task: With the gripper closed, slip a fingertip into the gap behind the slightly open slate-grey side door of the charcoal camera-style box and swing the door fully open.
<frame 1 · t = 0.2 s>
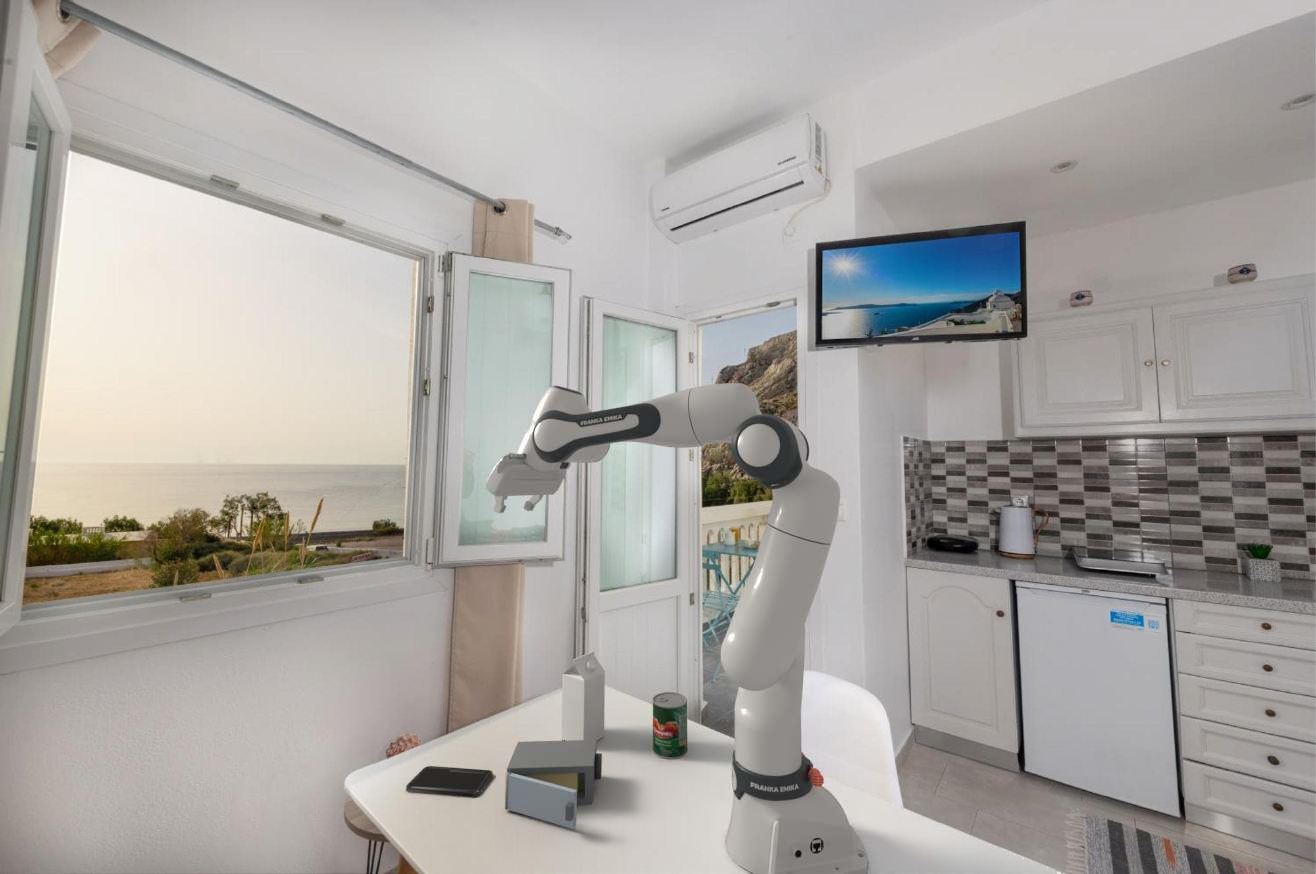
hand: (513, 510, 112), 54 cm above the table, tool tilted 30°, fingers open, 8 cm apart
milk carton: (583, 739, 120), on the table
side door: (538, 801, 91), point 4 cm above the table, hinge at 25.0°
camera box: (553, 790, 100), on the table
phone: (450, 785, 102), on the table
canned tomato: (670, 750, 115), on the table
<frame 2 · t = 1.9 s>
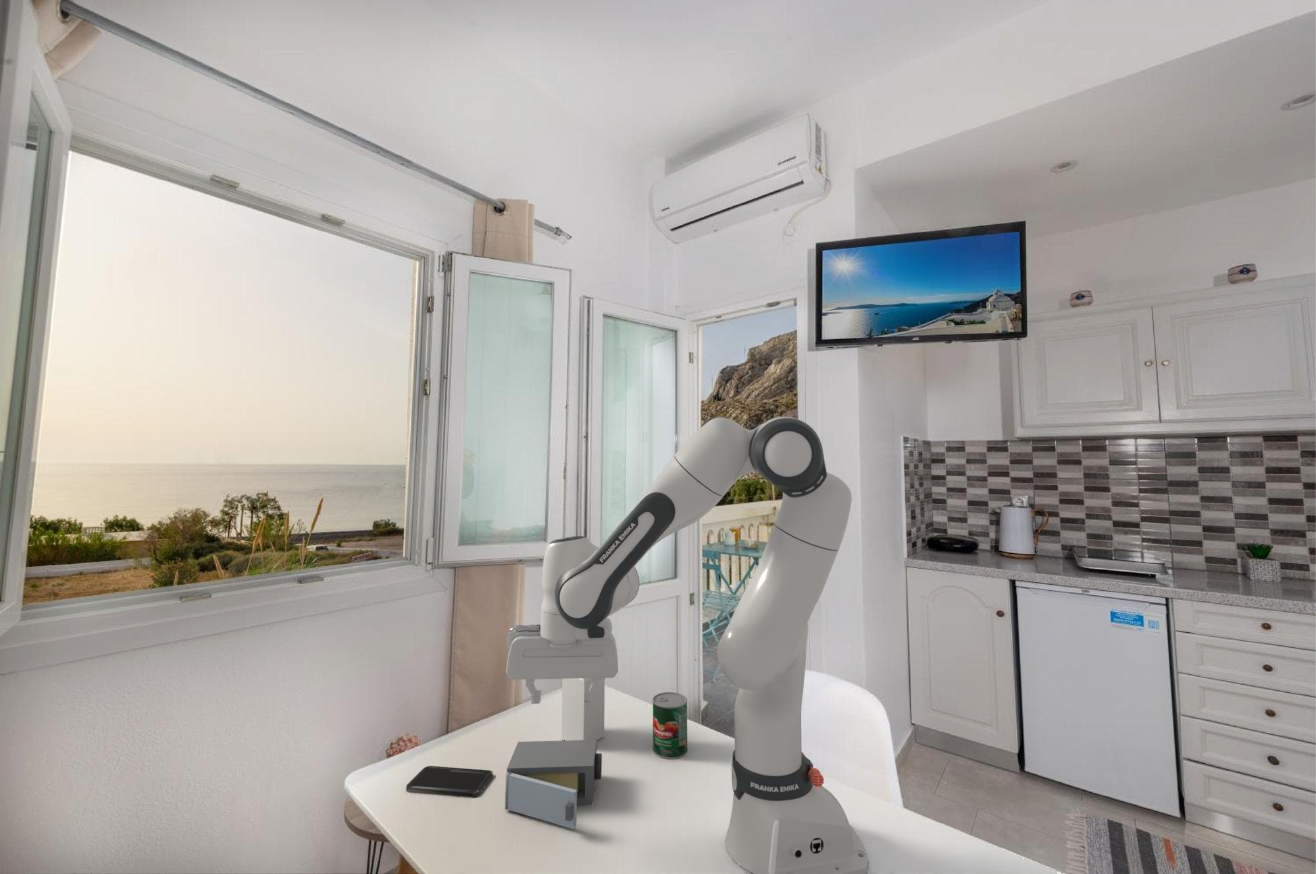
hand: (562, 701, 93), 20 cm above the table, tool pointing down, fingers open, 8 cm apart
nothing on the table moved.
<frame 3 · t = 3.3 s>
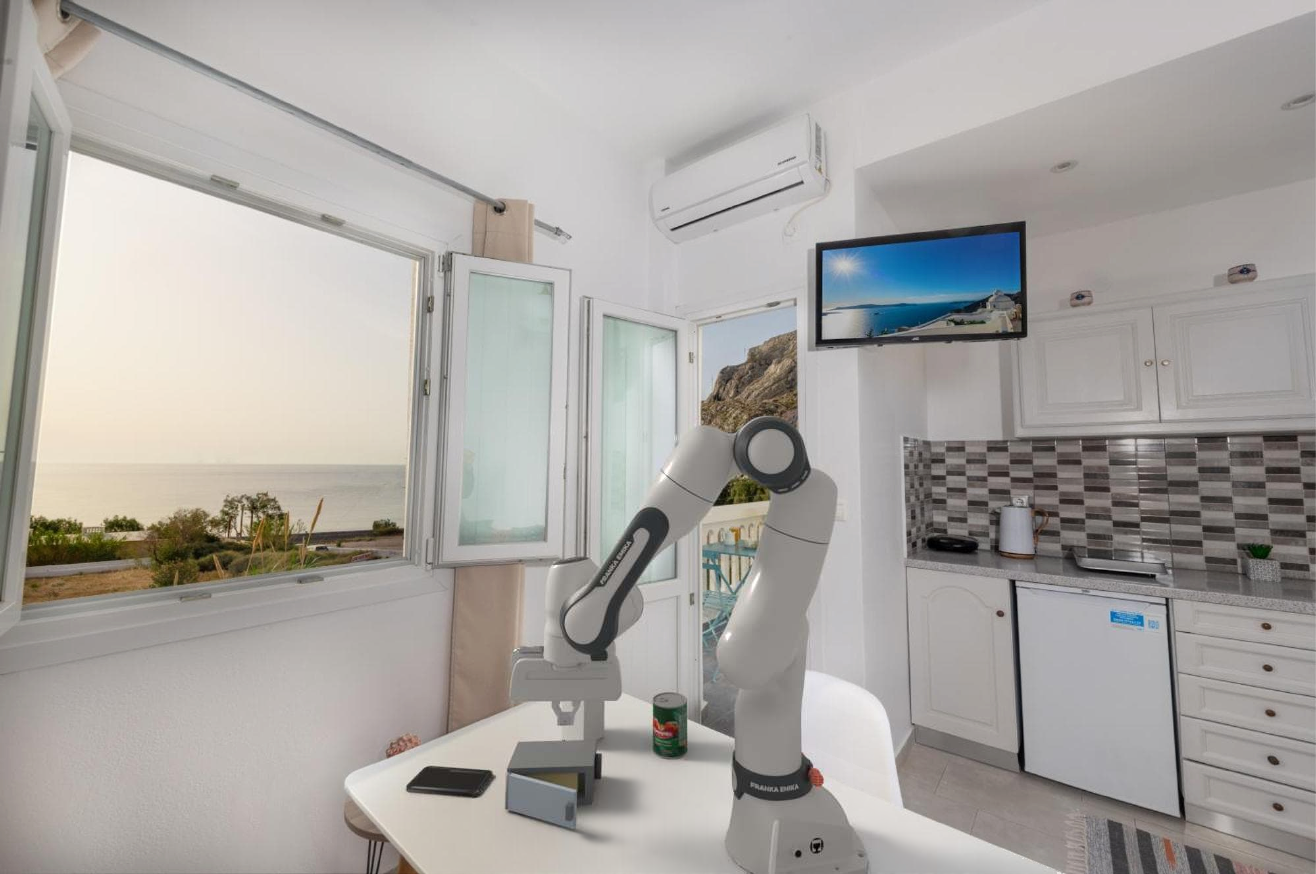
hand: (565, 724, 93), 16 cm above the table, tool pointing down, fingers closed
nothing on the table moved.
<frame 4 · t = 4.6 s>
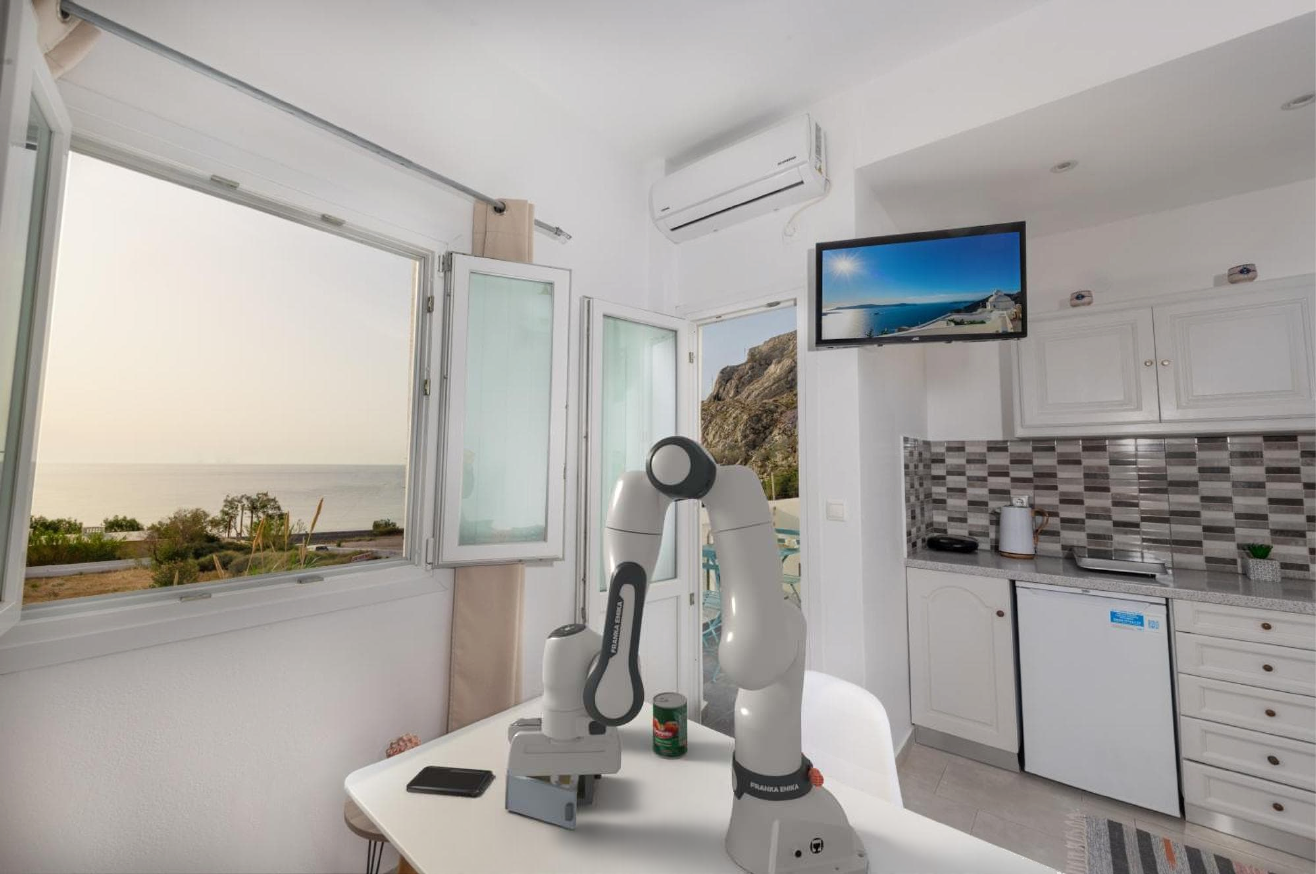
hand: (564, 797, 92), 4 cm above the table, tool pointing down, fingers closed
side door: (538, 801, 91), point 4 cm above the table, hinge at 25.3°, touching gripper
everything else where it was.
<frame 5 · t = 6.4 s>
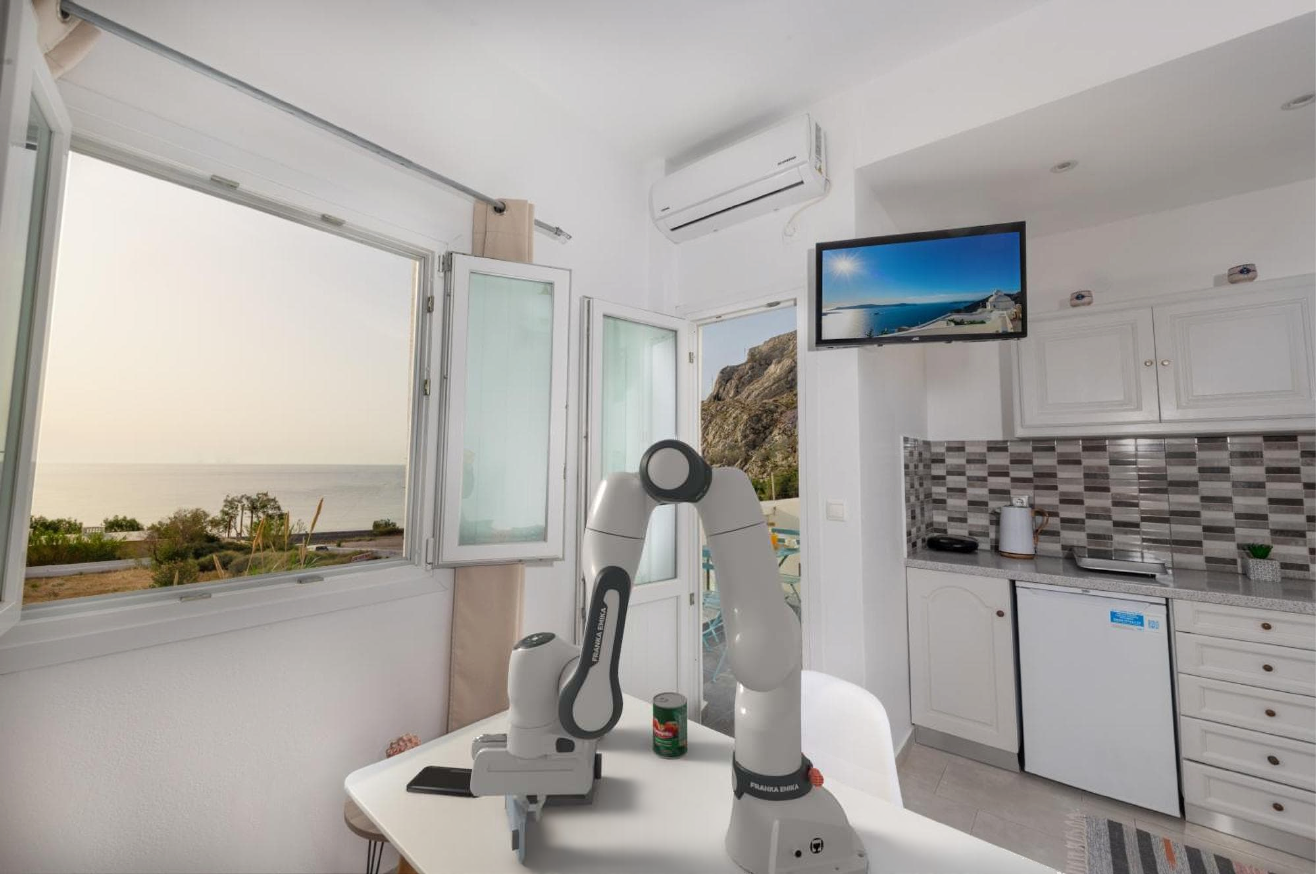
hand: (532, 818, 86), 4 cm above the table, tool pointing down, fingers closed
side door: (511, 813, 88), point 3 cm above the table, hinge at 68.7°, touching gripper
everything else where it was.
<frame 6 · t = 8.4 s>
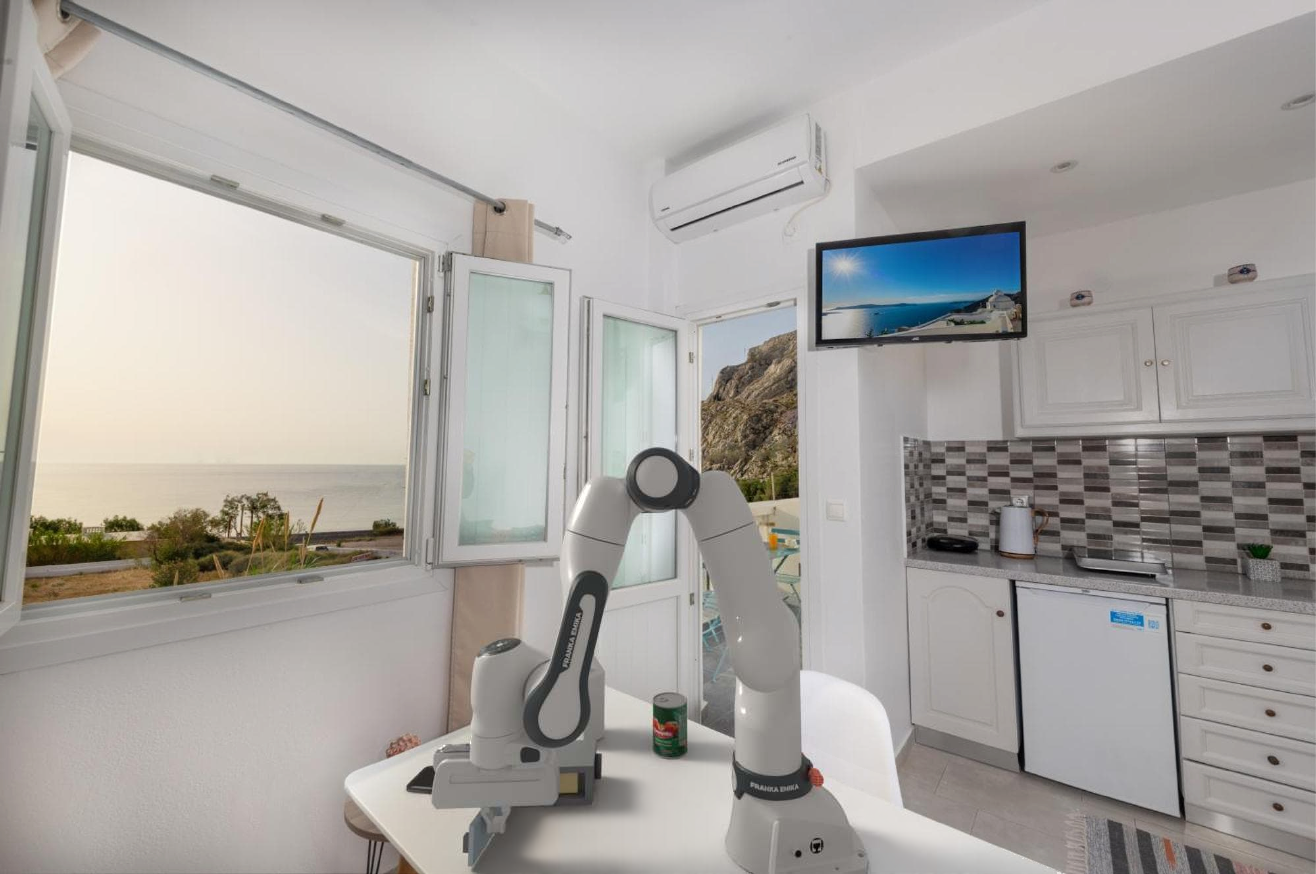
hand: (496, 831, 83), 4 cm above the table, tool pointing down, fingers closed
side door: (489, 815, 87), point 3 cm above the table, hinge at 100.2°, touching gripper
everything else where it was.
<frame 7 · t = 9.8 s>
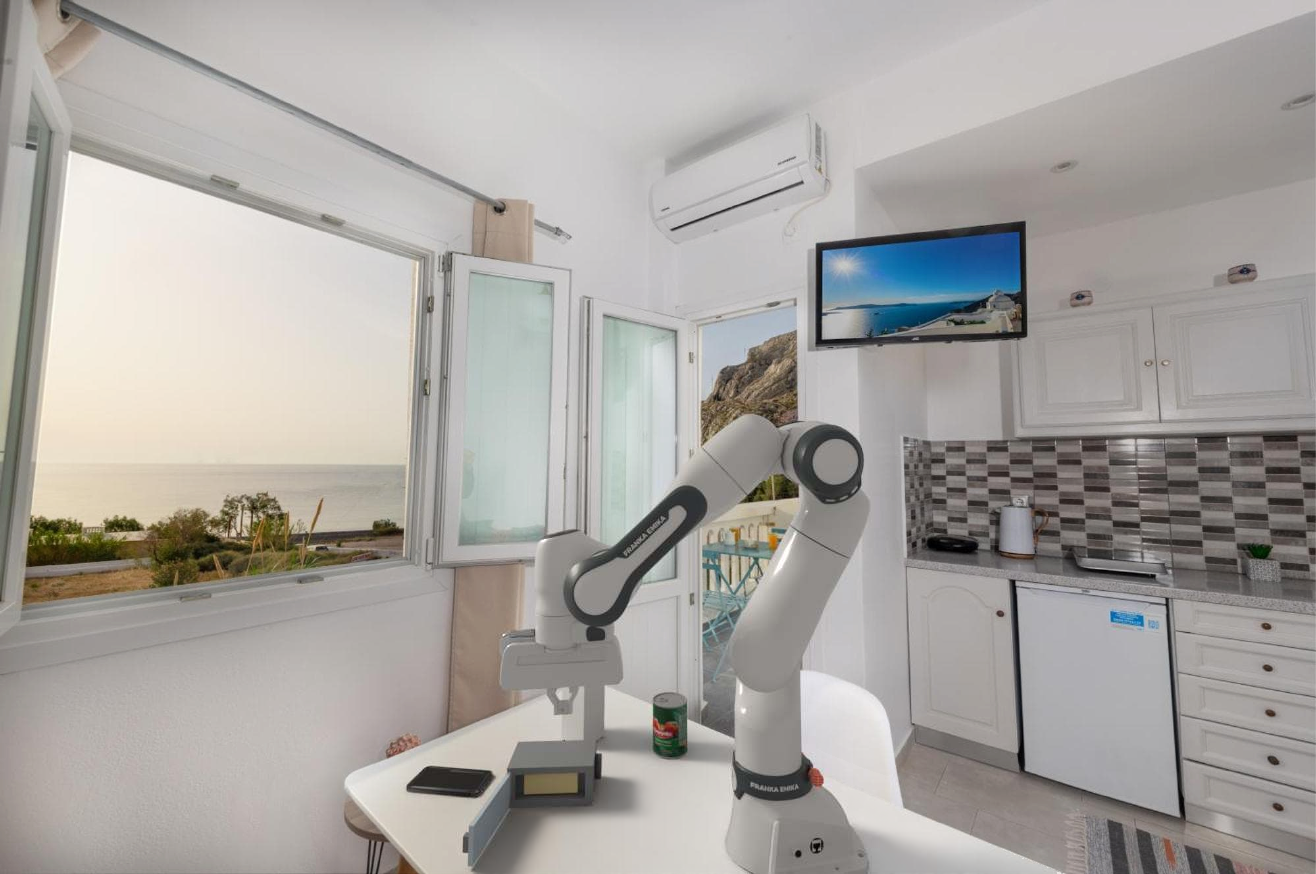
hand: (563, 713, 85), 22 cm above the table, tool pointing down, fingers closed
side door: (489, 814, 87), point 4 cm above the table, hinge at 100.3°
everything else where it was.
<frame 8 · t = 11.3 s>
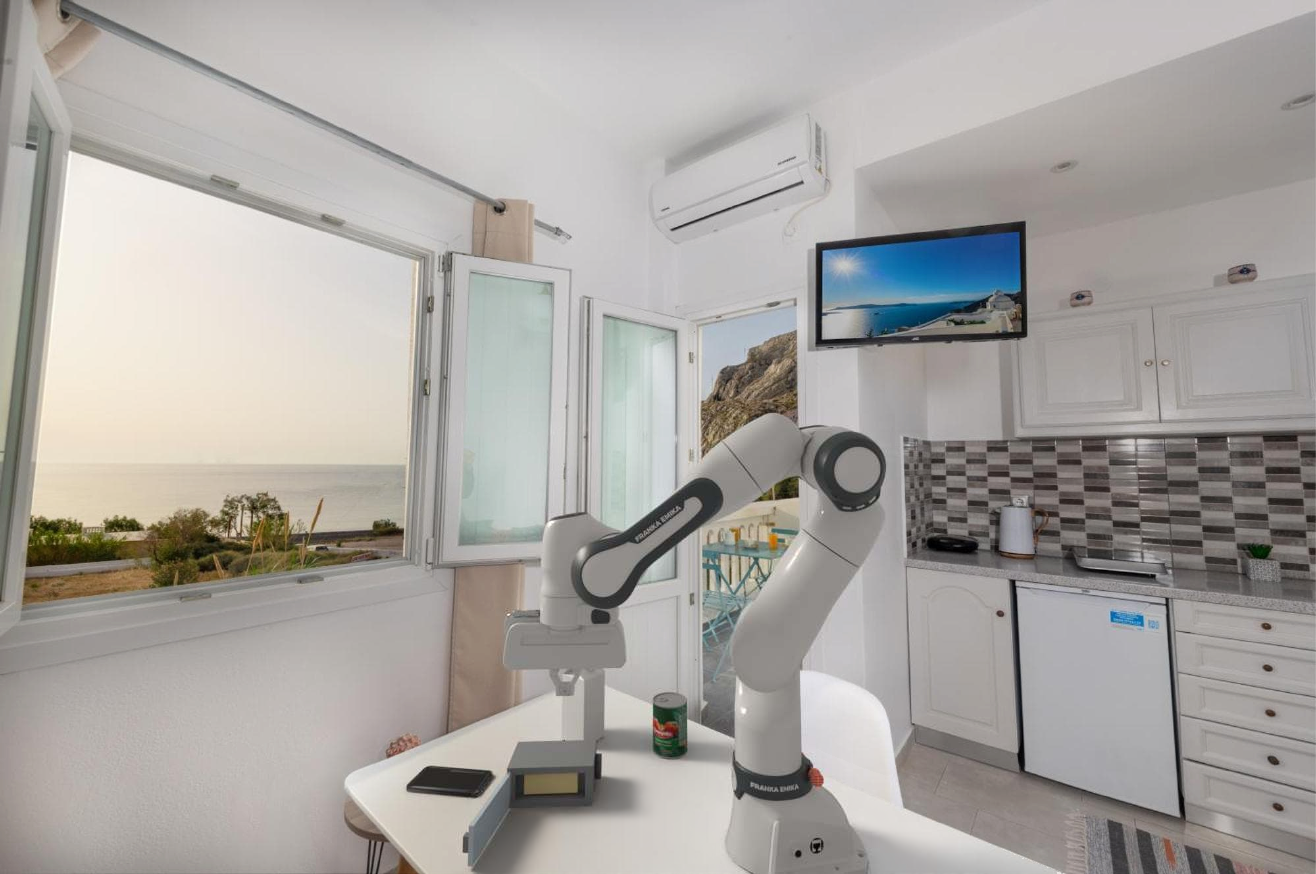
hand: (565, 694, 85), 25 cm above the table, tool pointing down, fingers closed
nothing on the table moved.
at the end: side door at +100° (first picture: +25°) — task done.
